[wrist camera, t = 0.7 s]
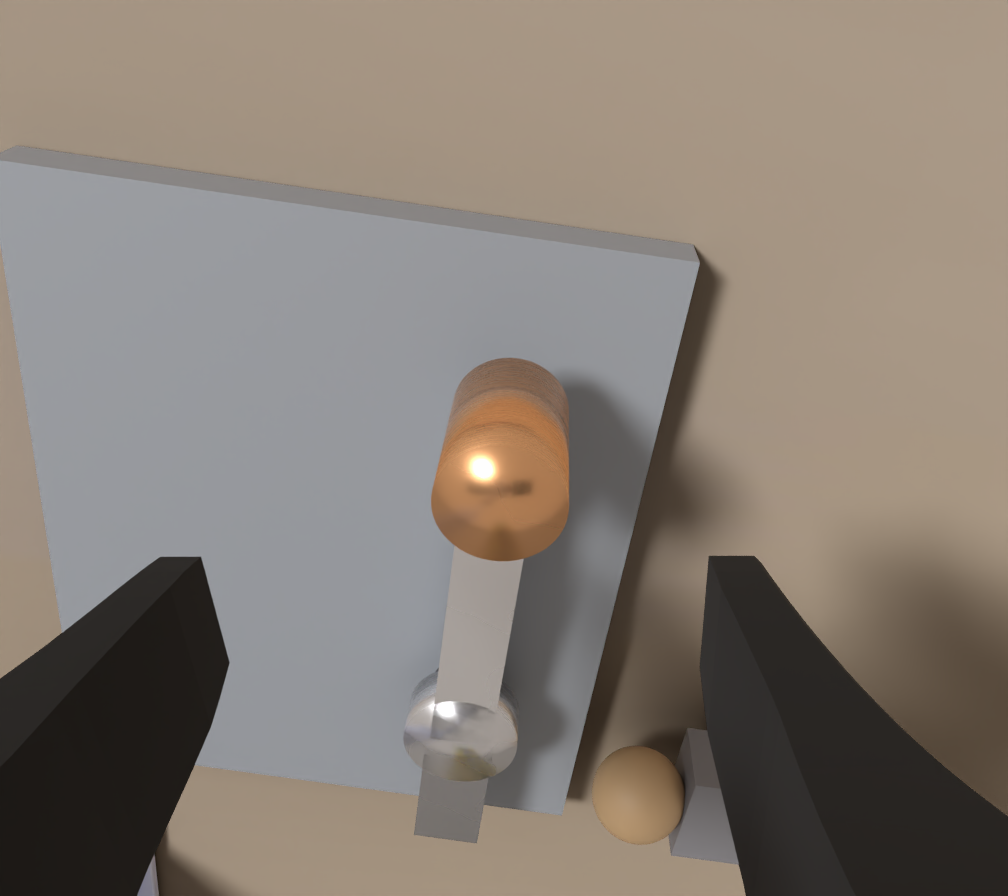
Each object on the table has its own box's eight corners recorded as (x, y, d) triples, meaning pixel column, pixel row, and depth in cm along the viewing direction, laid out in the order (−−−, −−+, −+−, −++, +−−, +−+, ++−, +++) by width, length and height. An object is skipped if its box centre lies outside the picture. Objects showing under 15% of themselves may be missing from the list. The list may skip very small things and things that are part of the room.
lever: (500, 810, 27) (488, 968, 23) (399, 796, 27) (369, 953, 23) (591, 344, 19) (597, 459, 15) (450, 324, 19) (419, 434, 15)
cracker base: (724, 805, 29) (743, 917, 26) (97, 719, 29) (38, 822, 26) (928, 279, 20) (998, 350, 17) (17, 145, 20) (-91, 191, 17)
